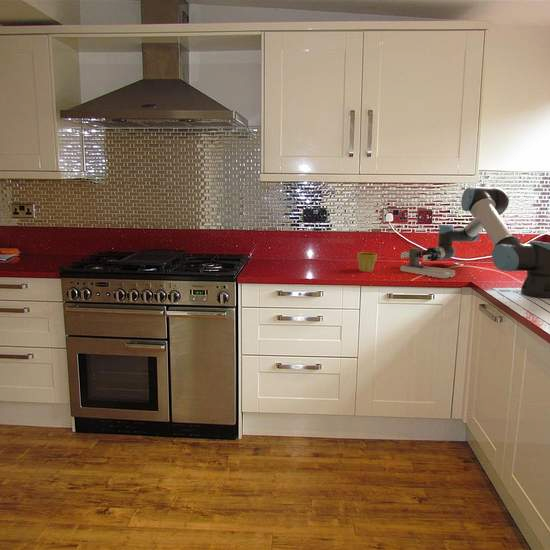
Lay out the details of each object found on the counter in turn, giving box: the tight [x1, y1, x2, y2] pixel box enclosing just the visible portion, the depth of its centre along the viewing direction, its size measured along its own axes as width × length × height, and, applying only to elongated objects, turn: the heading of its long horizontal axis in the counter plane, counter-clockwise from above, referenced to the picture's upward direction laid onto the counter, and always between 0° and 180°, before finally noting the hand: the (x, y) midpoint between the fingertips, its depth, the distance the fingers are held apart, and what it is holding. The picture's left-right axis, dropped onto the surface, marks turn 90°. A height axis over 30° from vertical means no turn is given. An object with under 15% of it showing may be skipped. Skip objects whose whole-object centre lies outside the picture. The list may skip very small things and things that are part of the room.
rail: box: [399, 265, 456, 279], centre depth 265 cm, size 26×10×3 cm, turn 40°
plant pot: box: [356, 251, 378, 273], centre depth 270 cm, size 10×10×10 cm
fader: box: [405, 247, 424, 268], centre depth 270 cm, size 6×7×10 cm
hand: (412, 256), depth 269 cm, fingers open, 13 cm apart
